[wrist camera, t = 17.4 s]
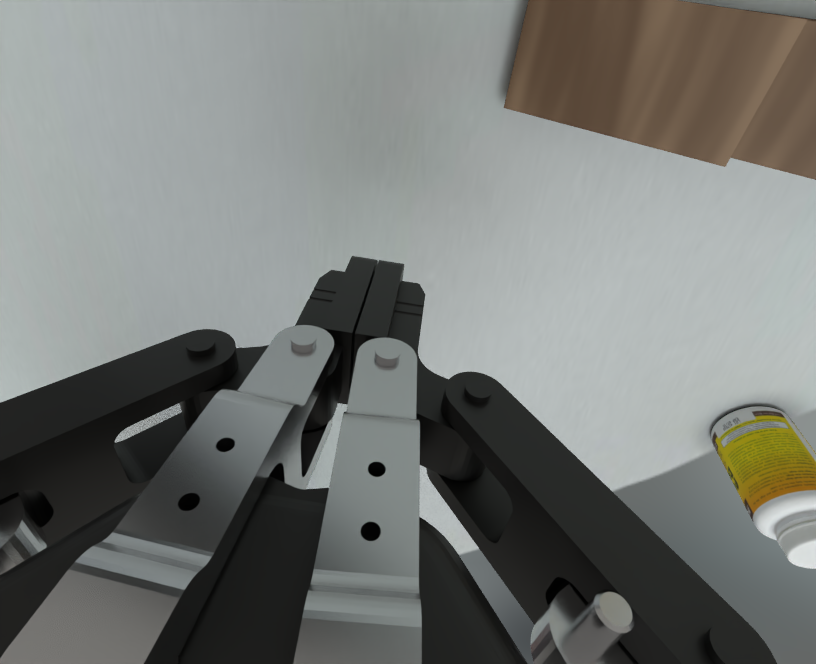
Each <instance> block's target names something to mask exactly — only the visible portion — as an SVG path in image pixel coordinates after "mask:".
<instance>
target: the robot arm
mask: <svg viewBox="0 0 816 664" xmlns="http://www.w3.org/2000/svg"><path fill="white" fill-rule="evenodd" d="M403 270H404V264H400V263H394V262H387V261H381V260H379V262H378V261H377V260H374V259H368V258H362V257H355V256H352V257H351V259H350V262H349V264H348V266H347V269H346V271H345V272H341V271H335V270H331V271H329V272H328V273H326V274H325V275H323V276H322V277H320V278H319V280H318V282H317V284H316V286H315V288H314V291H313V292H312V294H311V296H310V299H309V300H308V301H307V303H306V305H305V307H304V309H303V311H302V313H301V315H300V317H299V319H298V321H297V323H296V325H295V326H292V327H289V328H286V329H284V330H282V331H281V332H279V333H278V334H277V335H276V336H275V338H274V339H273V340H272V342H271V343H270V345H268V346H262V347H250V348H236V346H235V341H234V339H233V338H232V337H231V336H230V335H228V334H227V333H225V332H222V331H218V330H211V329H203V330H196V331H192V332H189V333H186V334H183V335H180V336H178V337H175V338H172V339H170V340H167V341H164V342H162V343H159V344H156V345H154V346H151V347H148V348H146V349H143V350H140V351H138V352H135V353H132V354H129V355H127V356H124V357H121V358H119V359H116V360H113V361H111V362H108V363H105V364H103V365H100V366H97V367H95V368H92V369H89V370H87V371H84V372H81V373H79V374H76V375H73V376H71V377H68V378H65V379H63V380H60V381H57V382H55V383H52V384H49V385H47V386H44V387H41V388H39V389H36V390H33V391H31V392H28V393H25V394H23V395H20V396H17V397H15V398H12V399H9V400H7V401H4V402H1V403H0V664H527V662H526V661H525V659H524V657H523V656H522V654H521V653H520V651H519V649H518V648H517V646H516V645H515V643H514V642H513V640H512V638H511V637H510V635H509V634H508V632H507V631H506V629H505V627H504V626H503V624H502V623H501V621H500V620H499V618H498V616H497V615H496V613H495V612H494V610H493V609H492V607H491V606H490V604H489V602H488V601H487V599H486V598H485V596H484V595H483V593H482V591H481V590H480V588H479V587H478V585H477V583H476V582H475V580H474V579H473V577H472V575H471V574H470V572H469V571H468V569H467V568H466V566H465V564H464V563H463V561H462V560H461V558H460V557H459V555H458V554H457V552H456V551H455V549H454V548H453V546H452V545H451V544H450V543H449V542H448V540H447V539H446V538H445V537H444V536H443V535H442V534H441V533H440V532H439V531H438V530H437V529H436V528H434V527H433V526H432V525H430V524H429V523H428V522H426V521H425V520H424V519H422V518H420V517H419V490H420V465H422V466H424V467H426V468H427V474H428V477H429V479H430V481H431V482H432V484H433V485H434V486H435V488H436V489H437V491H438V492H439V493H440V495H441V496H442V498H443V499H444V500H445V502H446V503H447V504H448V506H449V507H450V509H451V510H452V511H453V513H454V514H455V515H456V517H457V518H458V520H459V521H460V522H461V524H462V525H463V527H464V528H465V529H466V531H467V532H468V533H469V535H470V536H471V538H472V539H473V540H474V542H475V543H476V544H477V546H478V547H479V549H480V550H481V551H482V553H483V554H484V556H485V557H486V558H487V560H488V561H489V562H490V564H491V565H492V567H493V568H494V569H495V571H496V572H497V573H498V574H499V576H500V577H501V579H502V580H503V582H504V583H505V585H506V586H507V587H508V589H509V590H510V591H511V593H512V594H513V595H514V597H515V598H516V600H517V601H518V603H519V604H520V605H521V607H522V608H523V609H524V611H525V612H526V614H527V615H528V616H529V618H530V619H531V620H532V622H533V623H534V625H535V626H534V628H533V631H532V635H531V653H532V657H533V661H534V664H777V663H776V660H775V659H774V657H773V655H772V653H771V651H770V650H769V648H768V646H767V645H766V643H765V642H764V641H763V639H762V638H761V637H760V636H759V634H758V633H757V632H756V631H755V630H754V629H753V628H752V627H751V626H750V625H749V624H748V623H747V622H746V621H745V620H744V619H743V618H742V617H741V616H740V615H739V614H738V613H737V612H736V611H735V610H734V609H733V608H732V607H731V606H730V605H729V604H728V603H727V602H726V601H725V600H723V598H722V597H720V596H719V595H718V594H717V593H716V592H715V591H714V590H713V589H712V588H711V587H710V586H709V585H708V584H707V583H706V582H705V581H704V580H703V579H702V578H701V577H700V576H699V575H698V574H697V573H696V572H695V571H693V569H692V568H691V567H689V566H688V565H687V564H686V563H685V562H684V561H683V560H682V559H681V558H680V557H679V556H678V555H677V554H676V553H675V552H674V551H673V550H672V549H671V548H670V547H669V546H668V545H667V544H665V542H664V541H662V540H661V538H659V537H658V536H657V535H656V534H655V533H654V532H653V531H652V530H651V529H650V528H649V527H648V526H647V525H646V524H645V523H644V522H643V521H642V520H641V519H640V518H639V517H638V516H637V515H636V514H635V513H634V512H633V511H632V510H631V509H629V508H628V507H627V506H626V505H625V504H624V503H623V502H622V501H621V500H620V499H619V498H618V497H617V496H616V495H615V494H614V493H613V492H612V491H611V490H610V489H609V488H608V487H607V486H606V485H605V484H604V483H603V482H602V481H601V480H599V479H598V478H597V477H596V476H595V475H594V474H593V473H592V472H591V471H590V470H589V469H588V468H587V467H586V466H585V465H584V464H583V463H582V462H581V461H580V460H579V459H578V458H577V457H576V456H575V455H574V454H573V453H572V452H571V451H569V450H568V449H567V448H566V447H565V446H564V445H563V444H562V443H561V442H560V441H559V440H558V439H557V438H556V437H555V436H554V435H553V434H552V433H551V432H550V431H549V430H548V429H547V428H546V427H545V426H544V425H543V424H542V423H541V422H540V421H538V420H537V419H536V418H535V417H534V416H533V415H532V414H531V413H530V412H529V411H528V410H527V409H526V408H525V407H524V406H523V405H522V404H521V403H520V402H519V401H518V400H517V399H516V398H515V397H514V396H513V395H512V394H511V393H510V392H508V391H507V390H506V389H505V388H504V387H503V386H502V385H501V384H500V383H499V382H498V381H496V380H495V379H493V378H492V377H490V376H487V375H485V374H482V373H477V372H462V373H458V374H456V375H454V376H453V377H451V378H450V379H449V380H448V379H446V378H443V377H441V376H439V375H437V374H435V373H433V372H431V371H430V370H429V369H427V368H426V367H425V366H424V365H423V364H422V362H421V361H420V359H419V356H418V345H419V337H420V330H421V322H422V315H423V307H424V300H425V293H424V291H423V290H422V288H421V286H420V284H418V283H411V282H405V281H402V278H403ZM178 403H180V406H181V410H182V413H180V414H177V415H175V416H173V417H171V418H169V419H167V420H165V421H163V422H161V423H159V424H157V425H155V426H153V427H151V428H148V429H146V430H144V431H142V432H140V433H138V434H136V435H134V436H132V437H130V438H128V439H126V440H123V441H121V442H117V443H114V441H115V439H116V437H117V436H118V434H119V433H120V432H121V431H123V430H124V429H125V428H127V427H129V426H131V425H133V424H135V423H137V422H139V421H141V420H144V419H146V418H148V417H150V416H152V415H154V414H156V413H159V412H161V411H163V410H165V409H167V408H169V407H171V406H174V405H176V404H178ZM337 403H342V404H348V406H347V411H346V412H344V414H343V418H342V423H341V428H340V433H339V438H338V444H337V449H336V454H335V460H334V465H333V470H332V475H331V481H330V486H329V488H320V489H306V488H307V486H308V483H309V481H310V478H311V476H312V473H313V471H314V469H315V466H316V464H317V461H318V459H319V456H320V454H321V452H322V449H323V447H324V444H325V442H326V440H327V437H328V435H329V432H330V430H331V427H332V417H333V415H334V413H335V410H336V407H337Z"/></svg>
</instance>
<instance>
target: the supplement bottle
mask: <svg viewBox="0 0 816 664" xmlns="http://www.w3.org/2000/svg"><path fill="white" fill-rule="evenodd" d="M711 439H712V443H713V445H714V447H715V449H716V451H717V453H718V455H719V456H720V458H721V460H722V462H723V464H724V466H725V468H726V470H727V472H728V474H729V476H730V478H731V480H732V481H733V484H734V485H735V487H736V489H737V491H738V493H739V495H740V497H741V499H742V501H743V503H744V504H745V507H746V509H747V511H748V513H749V515H750V517H751V519H752V520H753V522H754V524H755V526H756V527H757V528H758V530H759V531H760V532H761V533H762V534H764V535H765V536H767V537H770V538H772V539H774V540H777V541H778V544H779V546H780V547H781V548H782V549H783V551H784V553H785V555H786V557H787V558H788V560H789V561H790V562H791V563H793V564H794V565H797V566H800V567H805V568H816V453H815V451H814V450H813V449H812V447H811V446H810V445H809V443H808V442H807V440H806V439H805V438H804V437H803V435H802V434H801V432H800V431H799V430H798V428H797V427H796V425H795V424H794V423H793V421H792V420H791V419H790V418H789V416H787V415H786V414H785V413H784V412H782V411H780V410H777V409H774V408H770V407H761V406H758V407H748V408H743V409H740V410H737V411H734V412H732V413H730V414H728V415H726V416H724V417H723V418H722V419H720V420H719V421H718V422H717V423H716V424H715V426H714V427H713V429H712V433H711Z"/></svg>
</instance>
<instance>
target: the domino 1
mask: <svg viewBox="0 0 816 664" xmlns="http://www.w3.org/2000/svg"><path fill="white" fill-rule="evenodd" d="M806 22H807V19H800V18H793V17H786V16H780V15H773V14H766V13H759V12H753V11H746V10H739V9H732V8H726V7H719V6H712V5H705V4H699V3H692V2H685V1H678V0H529V1H528V5H527V10H526V14H525V18H524V23H523V27H522V31H521V36H520V40H519V44H518V48H517V53H516V57H515V61H514V66H513V70H512V74H511V79H510V83H509V87H508V92H507V96H506V100H505V105H504V108H507V109H510V110H514V111H518V112H522V113H525V114H529V115H533V116H537V117H540V118H544V119H548V120H552V121H555V122H559V123H563V124H567V125H570V126H574V127H578V128H582V129H585V130H589V131H593V132H597V133H600V134H604V135H608V136H612V137H615V138H619V139H623V140H627V141H630V142H634V143H638V144H642V145H645V146H649V147H653V148H657V149H660V150H664V151H668V152H671V153H675V154H679V155H683V156H686V157H690V158H694V159H698V160H701V161H705V162H709V163H713V164H716V165H720V166H724V167H725V166H726V164H727V163H728V161H729V159H730V157H731V156H732V154H733V152H734V150H735V148H736V147H737V145H738V143H739V141H740V139H741V138H742V136H743V134H744V132H745V131H746V129H747V127H748V125H749V123H750V122H751V120H752V118H753V116H754V115H755V113H756V111H757V109H758V107H759V106H760V104H761V102H762V100H763V98H764V97H765V95H766V93H767V91H768V90H769V88H770V86H771V84H772V82H773V81H774V79H775V77H776V75H777V74H778V72H779V70H780V68H781V66H782V65H783V63H784V61H785V59H786V57H787V56H788V54H789V52H790V50H791V49H792V47H793V45H794V43H795V41H796V40H797V38H798V36H799V34H800V33H801V31H802V29H803V27H804V25H805V24H806Z"/></svg>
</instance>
